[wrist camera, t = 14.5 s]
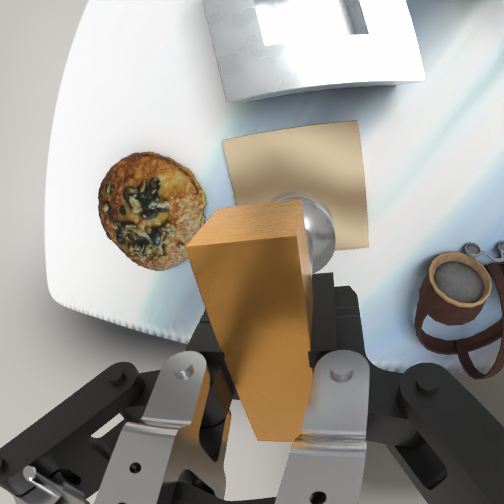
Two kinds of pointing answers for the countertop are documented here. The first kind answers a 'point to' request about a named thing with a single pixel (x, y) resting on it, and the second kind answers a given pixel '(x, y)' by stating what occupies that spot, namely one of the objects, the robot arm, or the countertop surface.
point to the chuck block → (311, 45)
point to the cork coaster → (305, 172)
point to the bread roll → (151, 209)
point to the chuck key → (265, 301)
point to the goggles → (461, 303)
